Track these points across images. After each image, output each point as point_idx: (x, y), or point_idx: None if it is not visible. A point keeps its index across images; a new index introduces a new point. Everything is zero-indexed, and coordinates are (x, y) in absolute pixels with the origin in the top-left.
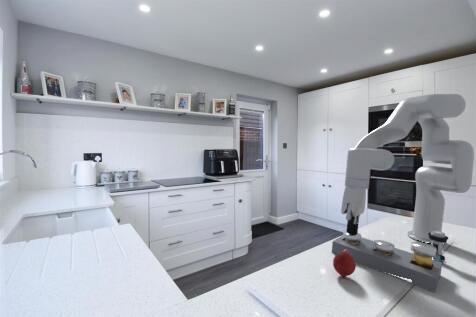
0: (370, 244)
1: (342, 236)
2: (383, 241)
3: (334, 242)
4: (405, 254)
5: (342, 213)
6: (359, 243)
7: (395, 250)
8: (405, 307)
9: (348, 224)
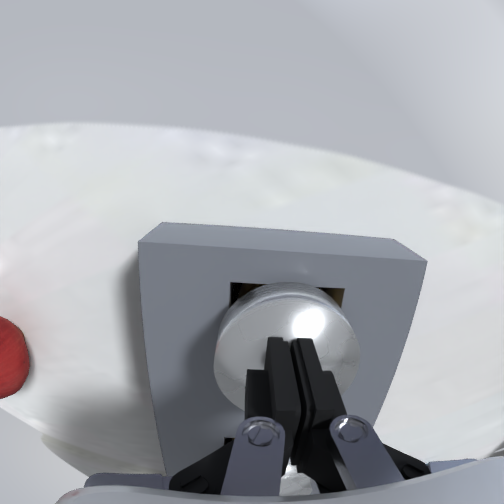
0: None
1: (316, 261)
2: (299, 486)
3: (139, 255)
4: None
5: (84, 493)
6: None
7: None
8: (58, 450)
9: (272, 402)
